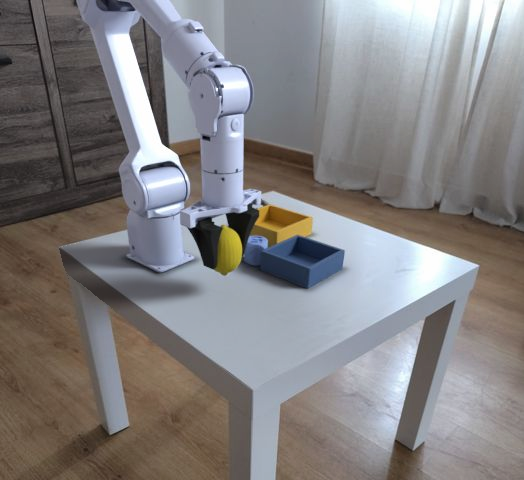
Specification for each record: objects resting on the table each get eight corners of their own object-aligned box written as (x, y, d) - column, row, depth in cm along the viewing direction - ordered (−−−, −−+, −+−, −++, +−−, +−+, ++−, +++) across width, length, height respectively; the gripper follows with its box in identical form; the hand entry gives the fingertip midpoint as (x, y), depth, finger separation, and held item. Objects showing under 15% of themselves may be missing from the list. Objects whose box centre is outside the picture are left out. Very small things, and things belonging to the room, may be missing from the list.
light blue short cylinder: (244, 265, 85) (244, 243, 83) (244, 256, 89) (244, 235, 86) (267, 266, 85) (267, 244, 83) (266, 256, 89) (267, 235, 86)
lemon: (237, 285, 73) (237, 234, 69) (201, 280, 74) (199, 230, 69) (245, 269, 78) (246, 220, 73) (212, 265, 78) (210, 216, 74)
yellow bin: (232, 234, 97) (232, 217, 95) (268, 220, 104) (269, 204, 102) (276, 250, 91) (277, 232, 89) (311, 234, 98) (313, 217, 96)
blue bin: (260, 269, 84) (260, 250, 82) (296, 252, 91) (297, 234, 89) (308, 288, 79) (309, 268, 77) (342, 268, 85) (345, 250, 83)
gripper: (204, 185, 60) (207, 284, 68) (278, 164, 69) (274, 254, 77) (166, 173, 64) (174, 269, 71) (241, 155, 73) (241, 241, 81)
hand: (223, 260), depth 74 cm, fingers closed on lemon, 5 cm apart
